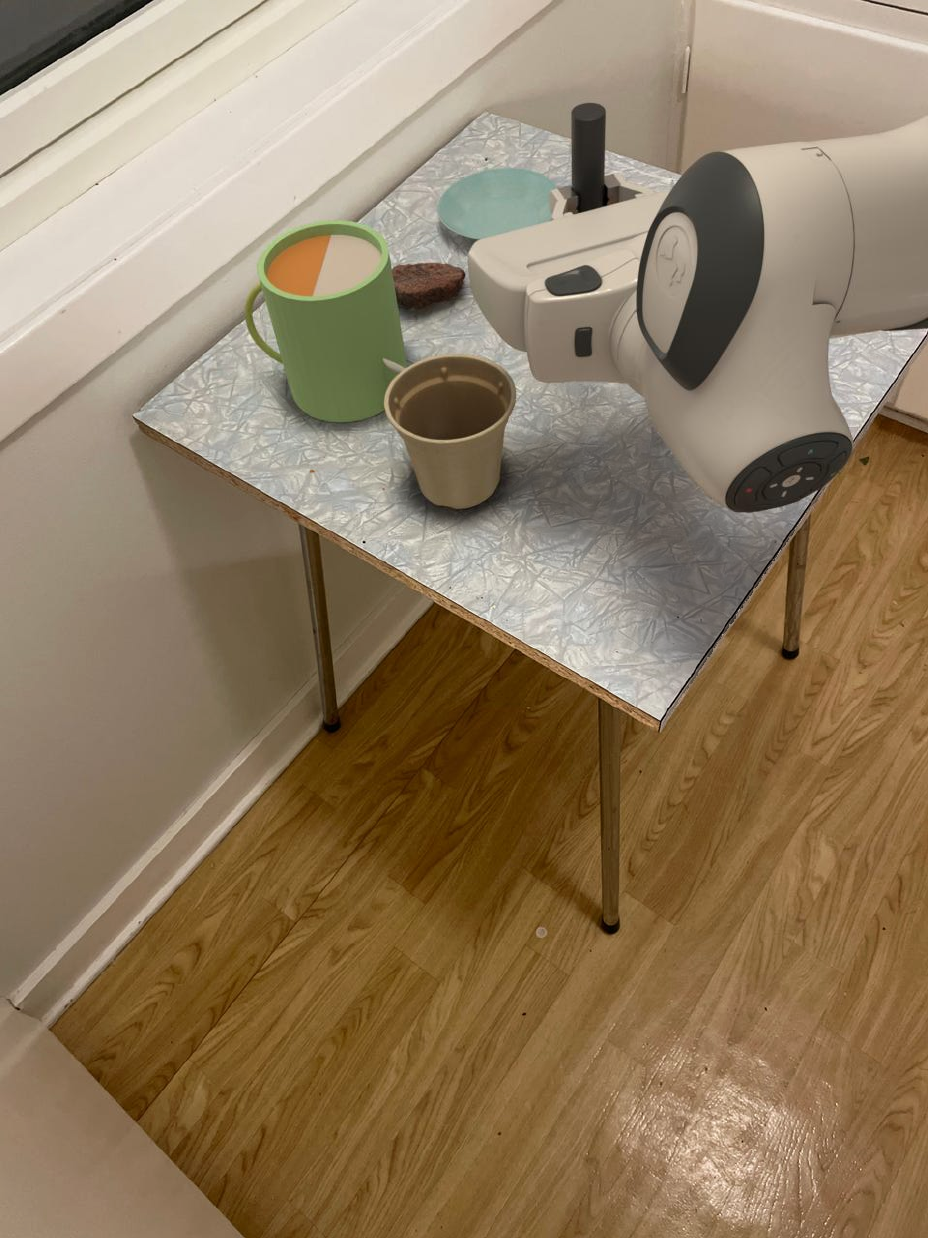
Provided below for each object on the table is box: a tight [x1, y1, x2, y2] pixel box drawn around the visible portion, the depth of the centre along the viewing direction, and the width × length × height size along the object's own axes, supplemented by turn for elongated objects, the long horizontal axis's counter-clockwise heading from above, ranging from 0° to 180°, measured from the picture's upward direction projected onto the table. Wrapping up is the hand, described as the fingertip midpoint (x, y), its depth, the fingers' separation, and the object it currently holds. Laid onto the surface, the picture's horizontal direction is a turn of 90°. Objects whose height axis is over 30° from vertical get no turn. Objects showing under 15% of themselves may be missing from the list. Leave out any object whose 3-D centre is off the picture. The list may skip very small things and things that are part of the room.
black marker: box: [570, 102, 607, 213], centre depth 73 cm, size 2×2×14 cm
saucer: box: [436, 167, 559, 243], centre depth 100 cm, size 12×12×2 cm
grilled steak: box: [392, 262, 466, 311], centre depth 94 cm, size 7×7×3 cm
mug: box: [244, 219, 408, 423], centre depth 85 cm, size 13×10×12 cm
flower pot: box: [384, 353, 517, 510], centre depth 78 cm, size 9×9×9 cm
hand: (582, 190), depth 72 cm, fingers closed on black marker, 2 cm apart
